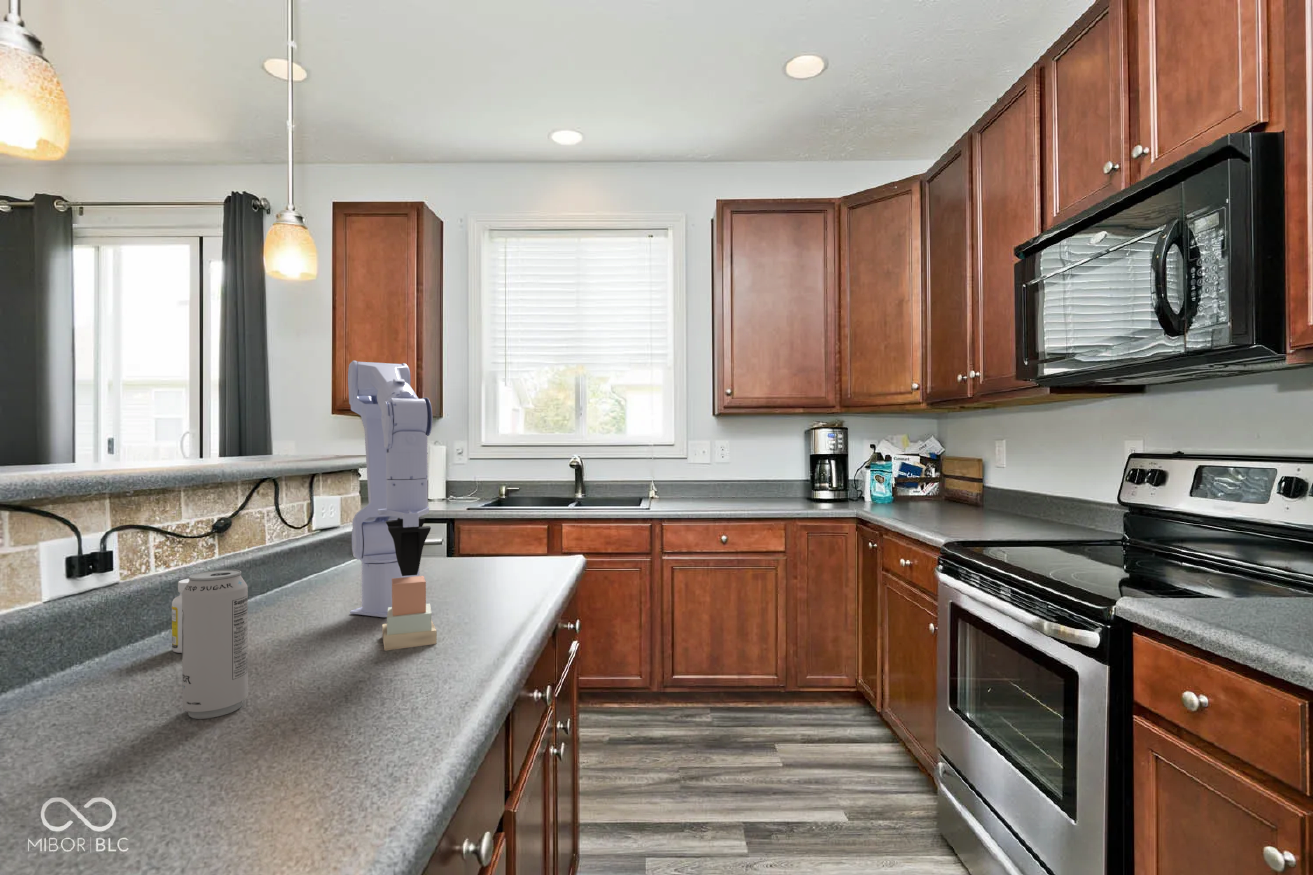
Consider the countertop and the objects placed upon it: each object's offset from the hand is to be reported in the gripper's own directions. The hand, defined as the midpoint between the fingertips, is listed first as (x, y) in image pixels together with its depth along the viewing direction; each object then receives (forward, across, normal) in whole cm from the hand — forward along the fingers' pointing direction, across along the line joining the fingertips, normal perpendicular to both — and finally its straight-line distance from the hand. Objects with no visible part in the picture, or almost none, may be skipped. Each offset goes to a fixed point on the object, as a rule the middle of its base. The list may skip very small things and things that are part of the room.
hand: (407, 570), depth 96 cm
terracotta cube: (+6, 0, 0) cm, 6 cm away
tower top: (+8, 0, 0) cm, 9 cm away
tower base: (+11, 0, 0) cm, 11 cm away
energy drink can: (+11, +17, -21) cm, 29 cm away
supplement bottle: (+11, -10, -28) cm, 31 cm away
